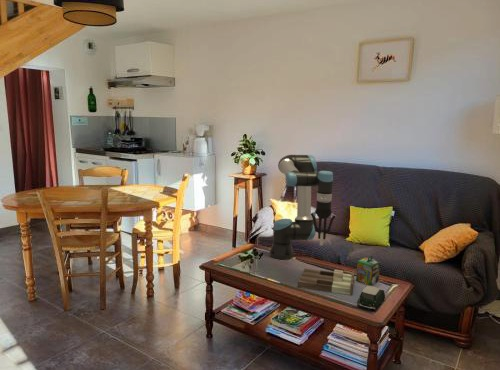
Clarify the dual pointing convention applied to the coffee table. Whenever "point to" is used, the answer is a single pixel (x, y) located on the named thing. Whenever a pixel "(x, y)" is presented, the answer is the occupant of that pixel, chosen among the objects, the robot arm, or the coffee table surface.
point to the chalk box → (368, 270)
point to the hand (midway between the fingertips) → (321, 244)
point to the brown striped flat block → (326, 281)
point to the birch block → (338, 275)
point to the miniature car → (371, 297)
